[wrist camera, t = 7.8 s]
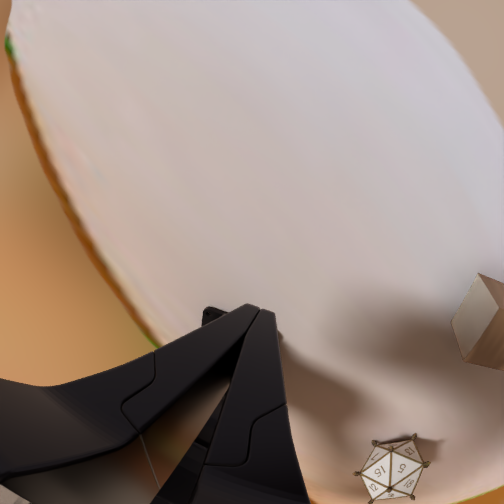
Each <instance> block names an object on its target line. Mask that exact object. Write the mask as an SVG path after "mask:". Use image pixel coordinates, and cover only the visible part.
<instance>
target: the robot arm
mask: <svg viewBox="0 0 504 504" xmlns="http://www.w3.org/2000/svg"><path fill="white" fill-rule="evenodd" d="M208 312H210V313H211V314H210V313H208ZM286 404H287V401H286V393H285V385H284V377H283V369H282V362H281V354H280V346H279V339H278V331H277V324H276V316H275V313H274V312H271V311H268V310H266V309H261V310H260V308H259V307H257V306H254V305H251V304H248V303H247V304H244V305H242V306H240V307H239V308H237V309H235V310H233V311H231V312H229V313H226V312H223V311H220V310H218V309H215V308H212V307H206V308H205V309H204V311H203V317H202V327H200V328H198V329H196V330H194V331H192V332H190V333H188V334H186V335H184V336H182V337H180V338H178V339H176V340H174V341H172V342H170V343H168V344H166V345H164V346H162V347H160V348H158V349H156V350H155V351H154V352H150V353H148V354H146V355H143V356H141V357H139V358H137V359H135V360H133V361H130V362H128V363H125V364H123V365H120V366H118V367H115V368H112V369H109V370H106V371H103V372H100V373H97V374H94V375H91V376H88V377H85V378H81V379H78V380H75V381H71V382H68V383H65V384H61V385H56V386H44V387H43V386H33V385H28V384H23V383H19V382H14V381H10V380H5V379H1V378H0V504H311V503H310V500H309V497H308V494H307V490H306V487H305V483H304V480H303V476H302V473H301V469H300V466H299V462H298V459H297V455H296V452H295V447H294V443H293V439H292V435H291V429H290V423H289V416H288V408H287V405H286Z"/></svg>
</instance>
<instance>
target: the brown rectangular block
mask: <svg viewBox="0 0 504 504" xmlns="http://www.w3.org/2000/svg"><path fill="white" fill-rule="evenodd" d="M451 324H452V327H453V330H454V333H455V336H456V339H457V342H458V345H459V349H460V352H461V355H462V359H463V361H464V362H468V363H472V364H476V365H481V366H485V367H490V368H494V369H499V370H503V371H504V283H501V282H499V281H496V280H494V279H492V278H489V277H487V276H484V275H482V274H479V273H478V274H477V276H476V278H475V280H474V282H473V284H472V286H471V288H470V290H469V291H468V293H467V295H466V297H465V299H464V300H463V302H462V304H461V306H460V307H459V309H458V311H457V312H456V314H455V316H454V317H453V319H452V321H451Z"/></svg>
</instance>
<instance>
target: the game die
mask: <svg viewBox="0 0 504 504" xmlns="http://www.w3.org/2000/svg"><path fill="white" fill-rule="evenodd" d="M416 437H417V436H416V433H415V434H414V435H413V436H412V439H411V440H405V441H400V442H394V443H387V444H380V445H377V443H376V441H373V440H372V444H373V446H375V447H374V449H373V451H372V453H371V454H370V456H369V458H368V460H367V461H366V463H365V465H364V466H363V468H362V470H361V471H360V472H354V473H353V475H355V476H358V475H360V476H361V478H362V480H363V483H364V485H365V487H366V489H367V491H368V493H369V495H370V497H371V500H370V501H369V502H368V504H372V503H373V501H374V500H382V499H391V498H399V497H406V496H410V498H411V500H415V496H414V495H412V494H413V491H414V489H415V487H416V485H417V482H418V480H419V478H420V475H421V473H422V471H423V468H427V467H428V466H429V464H430V463H431V462H429V461H427V462H425V463H424V461H423V459H422V457H421V455H420V453H419V451H418V449H417V447H416V445H415V443H414V439H415V438H416Z"/></svg>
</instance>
